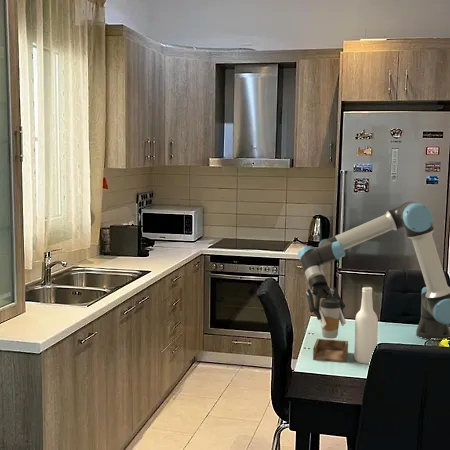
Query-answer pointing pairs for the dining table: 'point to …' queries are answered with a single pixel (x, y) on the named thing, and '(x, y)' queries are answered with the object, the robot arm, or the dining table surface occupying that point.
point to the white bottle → (365, 328)
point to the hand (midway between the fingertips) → (334, 325)
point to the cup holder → (330, 350)
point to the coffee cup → (330, 317)
